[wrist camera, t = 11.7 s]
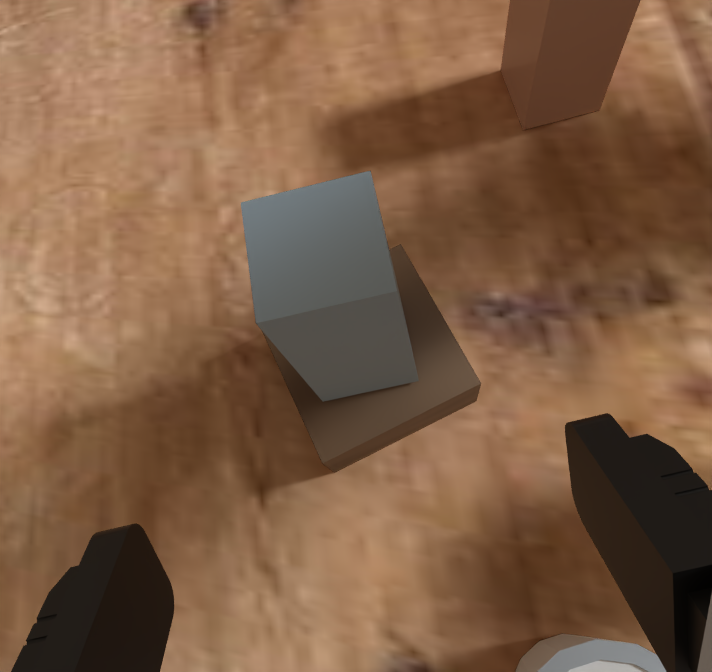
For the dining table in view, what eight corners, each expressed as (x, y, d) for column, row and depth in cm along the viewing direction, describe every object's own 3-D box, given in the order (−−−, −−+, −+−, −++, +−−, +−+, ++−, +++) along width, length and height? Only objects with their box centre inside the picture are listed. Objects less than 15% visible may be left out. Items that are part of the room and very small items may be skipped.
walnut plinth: (275, 341, 35) (255, 316, 31) (404, 276, 35) (400, 244, 31) (336, 473, 32) (322, 463, 28) (475, 402, 32) (481, 383, 28)
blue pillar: (308, 313, 30) (240, 202, 21) (399, 292, 30) (370, 170, 21) (322, 401, 29) (255, 323, 20) (418, 380, 28) (396, 290, 19)
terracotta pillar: (500, 70, 38) (521, -87, 29) (573, 50, 38) (619, -114, 28) (523, 129, 36) (553, -16, 27) (599, 110, 36) (656, -43, 27)
